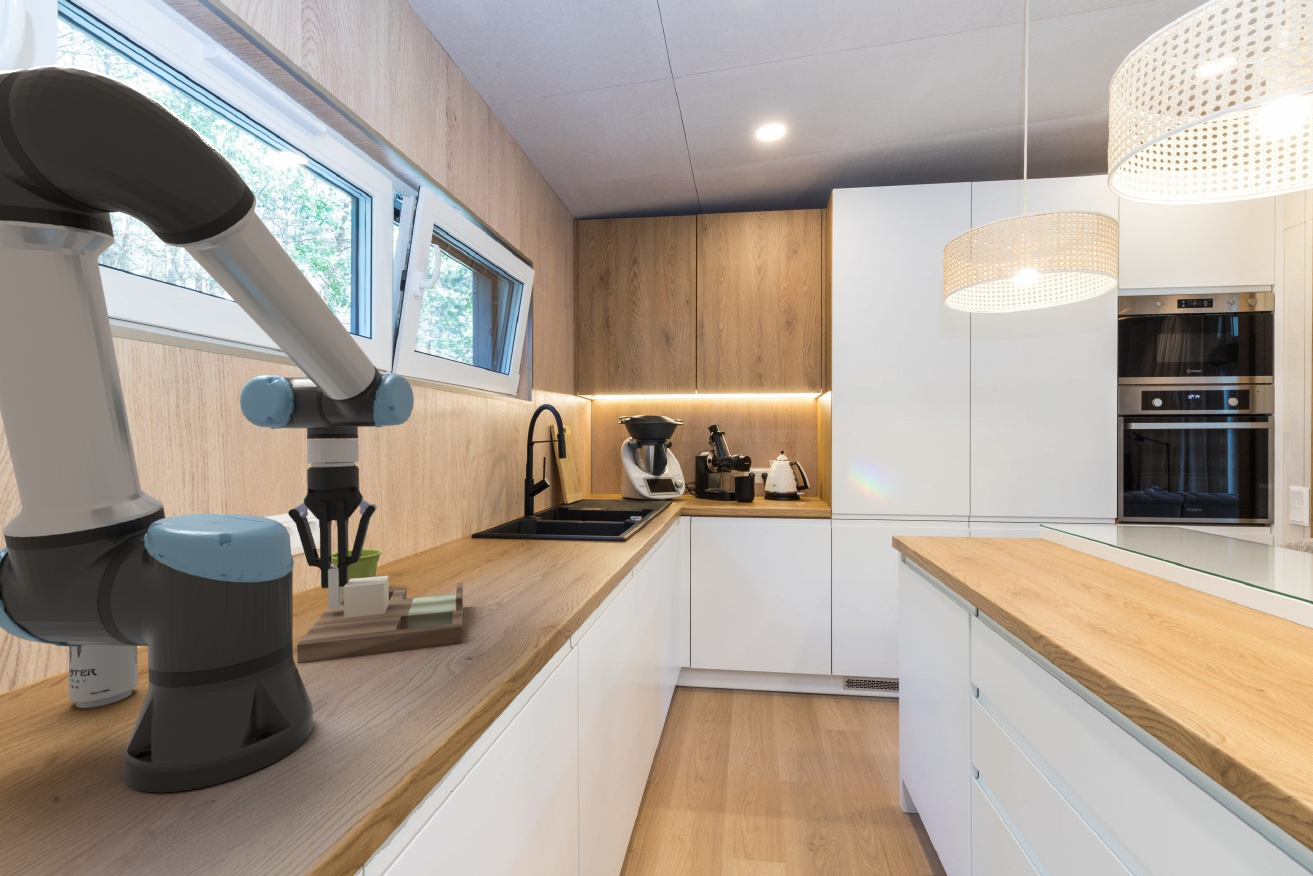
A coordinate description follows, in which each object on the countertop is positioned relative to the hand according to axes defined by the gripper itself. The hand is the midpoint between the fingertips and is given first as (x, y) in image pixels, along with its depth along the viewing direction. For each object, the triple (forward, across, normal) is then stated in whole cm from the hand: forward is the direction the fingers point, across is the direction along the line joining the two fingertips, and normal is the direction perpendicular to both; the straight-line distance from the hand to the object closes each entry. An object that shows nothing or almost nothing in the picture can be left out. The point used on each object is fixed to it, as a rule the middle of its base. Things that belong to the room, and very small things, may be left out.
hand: (335, 606), depth 95 cm
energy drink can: (+4, +22, +19) cm, 29 cm away
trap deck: (+4, -9, 0) cm, 9 cm away
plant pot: (+4, 0, -22) cm, 22 cm away
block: (+1, -5, 0) cm, 5 cm away
